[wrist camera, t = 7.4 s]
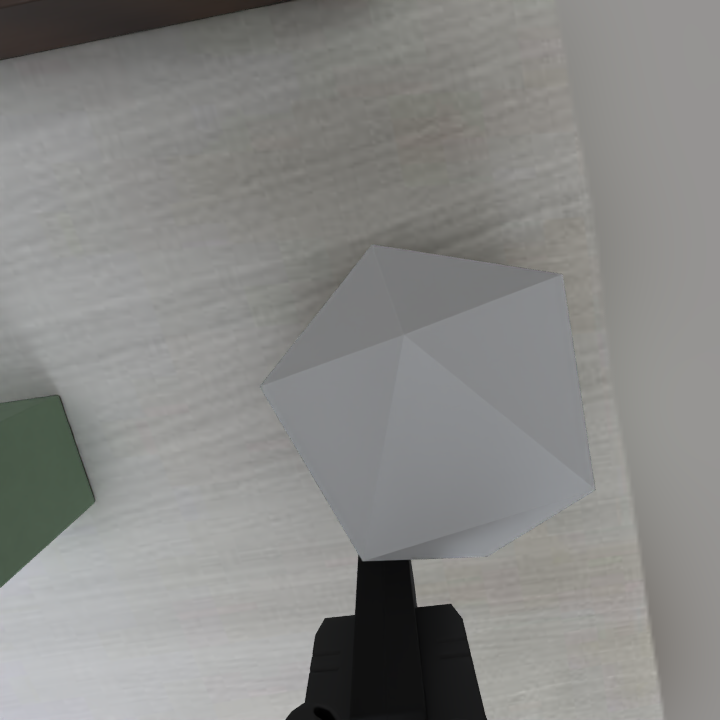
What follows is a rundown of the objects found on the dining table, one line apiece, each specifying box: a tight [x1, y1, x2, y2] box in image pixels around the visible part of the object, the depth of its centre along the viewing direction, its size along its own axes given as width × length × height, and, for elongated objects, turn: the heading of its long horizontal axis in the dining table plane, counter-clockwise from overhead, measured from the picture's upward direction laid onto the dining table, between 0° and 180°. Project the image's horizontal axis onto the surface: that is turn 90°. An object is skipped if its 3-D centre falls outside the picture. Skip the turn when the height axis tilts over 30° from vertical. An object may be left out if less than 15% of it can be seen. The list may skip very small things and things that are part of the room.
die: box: [260, 244, 596, 561], centre depth 13 cm, size 8×9×10 cm
